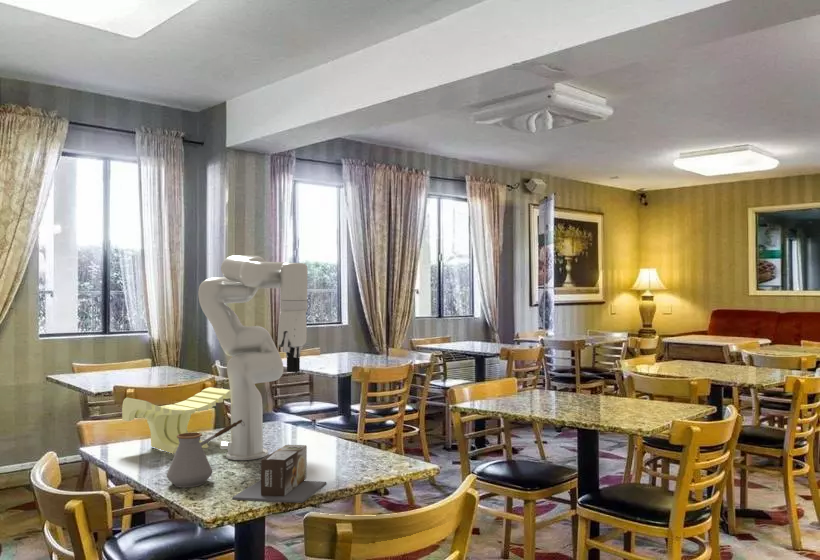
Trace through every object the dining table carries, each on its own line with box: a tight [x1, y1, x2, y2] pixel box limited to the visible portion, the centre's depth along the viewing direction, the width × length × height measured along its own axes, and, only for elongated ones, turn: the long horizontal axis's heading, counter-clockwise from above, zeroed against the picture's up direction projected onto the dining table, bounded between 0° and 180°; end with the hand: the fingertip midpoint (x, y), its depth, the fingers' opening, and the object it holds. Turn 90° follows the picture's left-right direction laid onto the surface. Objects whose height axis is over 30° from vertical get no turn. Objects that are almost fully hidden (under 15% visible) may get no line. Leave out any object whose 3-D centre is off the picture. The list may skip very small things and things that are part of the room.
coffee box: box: [260, 444, 308, 496], centre depth 175 cm, size 9×6×16 cm
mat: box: [231, 479, 327, 504], centre depth 173 cm, size 18×17×1 cm
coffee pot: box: [166, 420, 245, 488], centre depth 185 cm, size 21×12×15 cm, turn 129°
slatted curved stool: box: [121, 386, 231, 455], centre depth 228 cm, size 30×16×18 cm, turn 138°
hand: (293, 371), depth 194 cm, fingers closed
